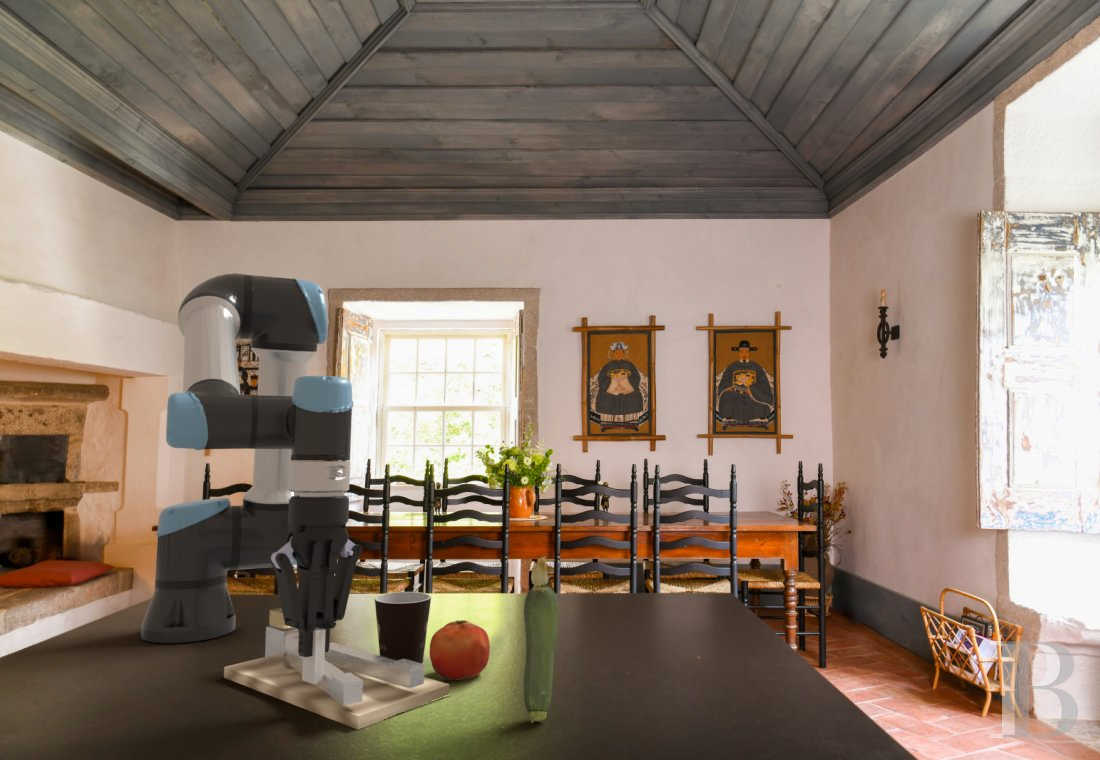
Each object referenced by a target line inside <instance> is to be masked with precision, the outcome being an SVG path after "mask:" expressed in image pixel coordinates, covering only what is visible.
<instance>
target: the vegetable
mask: <svg viewBox="0 0 1100 760" xmlns="http://www.w3.org/2000/svg"><path fill="white" fill-rule="evenodd" d="M547 561H548V559H547V556H545V555H544V556H542V557H540V558H538V562H537V563H536V564H535V565H534V567H533V569H532V571H531V575H530V578H531V579H530V580H531V583H532V584H533V587H532V588H530V589H529V590H528V591H527V594H526V596H525V600H524V605H523V617H524V618H523V619H524V628H525V630H524V632H525V665H524V672H523V673H524V674H523V701H524V706H525V708H526V711H527V712H528V716H529V717H528V718H529V720H530V722H531V724H533V723H535V722H541V721H543V720H546V719H547V714H548V712H547V711H548V709H549V707H550V704H551V702H552V700H551V699H552V689H553V688H552V687H553V680H554V659H555V658H554V657H555V644H556V639H557V634H558V630H559V617H560V616H559V615H560V611H559V602H558V598H557V595H556V594H557V593H555V591H554V589H552V588H551V587H550V586H548V585H547V584H548V582H549V576H548V567H547V565H548V564H547Z"/></svg>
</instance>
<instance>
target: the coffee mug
mask: <svg viewBox="0 0 1100 760" xmlns="http://www.w3.org/2000/svg"><path fill="white" fill-rule="evenodd" d="M431 603H432V595H430V594H429V593H426V592H418V591H399V592H398V591H397V592H388V593H383V594H380V595H377V596H375V597H374V605H375V614H376V615H375V618H376V627H377V629H376V630H377V639H378V640H377V641H378V649H379V656H382V657H386V658H390V659H393V660H397V661H398V660H401V659H407V660H410V661H414V662H418V663H421V664H422V663H423V664H424V657H425V647H426V642H427V633H428V625H429V617H430V610H431Z"/></svg>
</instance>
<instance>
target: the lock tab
mask: <svg viewBox="0 0 1100 760" xmlns="http://www.w3.org/2000/svg"><path fill="white" fill-rule="evenodd" d="M271 625H272V626H275V627H279V628H282V629H286V628H291V627H290V626H287V625H285V623H284V617H283V612H282V607H279V608H273V609H269V623H268V626H271Z"/></svg>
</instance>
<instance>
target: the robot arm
mask: <svg viewBox="0 0 1100 760" xmlns="http://www.w3.org/2000/svg"><path fill="white" fill-rule="evenodd" d="M180 303H181V304H180V306H179V309H178V316H177V323H178V324H177V325H178V329H179V331H180V333H181V335H182V336H183V337H184V344H183V345H184V346H183V376H182V377H183V381H182V383H183V384H182V385H183V386H182V387H183V388H182V392H175V393H171V394H170V395H169V396H168V398H167V406H166V407H167V408H166V409H167V410H166V411H167V412H166V430H165V431H166V432H165V441H166V444H167V445H168V446H169V447H171V448H174V449H191V450H196V451H203V450H240V449H241V450H242V449H245V450H247V449H249V450H253V449H254V453H253V455H254V456H253V471H252V472H253V477H252V485H251V488H250V489H248V490H247V491H246V492H245V493H244V494H243V495H242V504H241V505H232V502H231V501H230V498H227V497H219V498H209V499H208V498H207V499H201V500H194V501H187V502H182V503H177V504H172V505H170V506H166V507H165V508H164V509H162V511H161V512H160V513H159V516H158V524H157V531H156V533H155V536H156V538H157V540H156V541H157V545H156V559H155V560H156V561H155V575H154V578H155V579H154V590H153V591H154V592H153V594H152V597H151V600H150V602H149V605H148V607H147V610H146V612H145V615H144V618H143V620H142V623H141V628H140V631H141V633H140V639H142V640H143V641H146V642H150V643H156V644H181V643H183V644H184V643H193V642H199V641H206V640H211V639H215V638H220V637H223V636H226V635H229V634H230V633H232V632H233V631H234V630H235V629H236V619H237V617H236V613H235V609H234V607H233V604H232V600H231V597H230V593H229V590H228V584H227V582H228V581H227V580H228V579H227V578H228V571H234V570H235V571H236V570H247V569H248V570H250V569H252V570H253V569H264V568H265V569H266V568H267V569H268V568H273V570H274V573H275V578H276V579H275V580H276V584H277V590H278V595H279V601H280V604H281V605H280V608H282V612H283V617H284V623H285V625H287V626H290V627H294V628H297V629H298V631H299V642H298V643H299V644H298V653H299V656H302V657H303V667H302V681H305V682H308V683H311V684H318V683H322V682H324V659H325V653H326V652H328V651H329V647H330V644H329V643H331V642H330V641H331V629H335V627H336V626H337V623H336V622H338V621H342V620H343V619H344V618H345V614H346V610H347V605H348V601H349V597H350V594H351V593H350V592H351V587H352V583H353V579H354V575H355V571H356V565H357V564H358V563H357V562H358V560H359V559H360V557H361V555H362V553H363V551H364V548H363V547H364V546H363V545H362V544H356V543H355V542H353V541H352V540H351V539H349V533H348V531H347V528H346V527H347V526H346V525H347V523H348V522H349V517H350V516H349V514H350V513H349V512H350V510H349V509H350V498H349V497H348V495H345V492H348V491H349V490H350V481H351V480H350V476H351V475H350V473H351V472H350V471H351V470H350V469H351V446H352V444H351V442H352V440H351V439H352V421H353V420H352V419H353V407H354V401H353V385H352V382H351V381H350V379H348V378H346V377H343V376H334V375H333V376H332V375H308V365H309V363H308V362H309V361H310V360H311V359H312V358H313V357H314V356H315V355H317V353H318V345H322V344H324V343H326V341H327V339H328V327H329V326H328V321H329V319H328V310H327V309H328V308H327V303H326V298H325V294H324V291H323V290H322V288H321V286H320V285H319V284H318V283H316V282H314V281H309V280H305V279H304V280H303V279H297V278H286V277H276V276H265V275H252V274H251V275H250V274H244V273H226V274H224V273H223V274H220V275H216V276H214V277H211V278H209V279H206V280H205V281H202V282H201V283H200V284H198V285H196V286H195V287H193V289H192V290H190V292H188V293H187V295H186V296H185V297H184V298H183V300H182V301H181V302H180ZM236 339H246V340H250V341H251V345H250V350H251V351H252V352H253V353H254V354H255V355H256V356H257V358H258V378H257V379H258V380H257V394H241V385H240V384H241V383H240V375H239V374H240V373H239V365H238V364H239V363H238V355H237V353H238V352H237V344H236ZM294 566H296V572H295V569H294V568H295V567H294ZM296 574H297V575H298V581H297V577H296ZM297 582H298V583H297Z"/></svg>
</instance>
